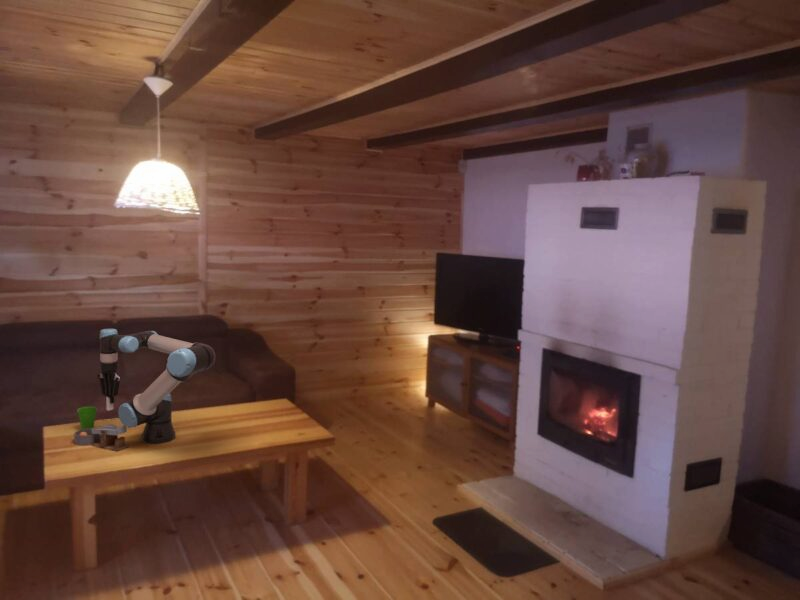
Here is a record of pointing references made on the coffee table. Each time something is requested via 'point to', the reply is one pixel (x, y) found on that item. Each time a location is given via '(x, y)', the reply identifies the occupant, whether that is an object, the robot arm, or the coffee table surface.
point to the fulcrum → (111, 442)
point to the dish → (86, 437)
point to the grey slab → (110, 430)
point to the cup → (87, 417)
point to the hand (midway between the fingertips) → (109, 409)
